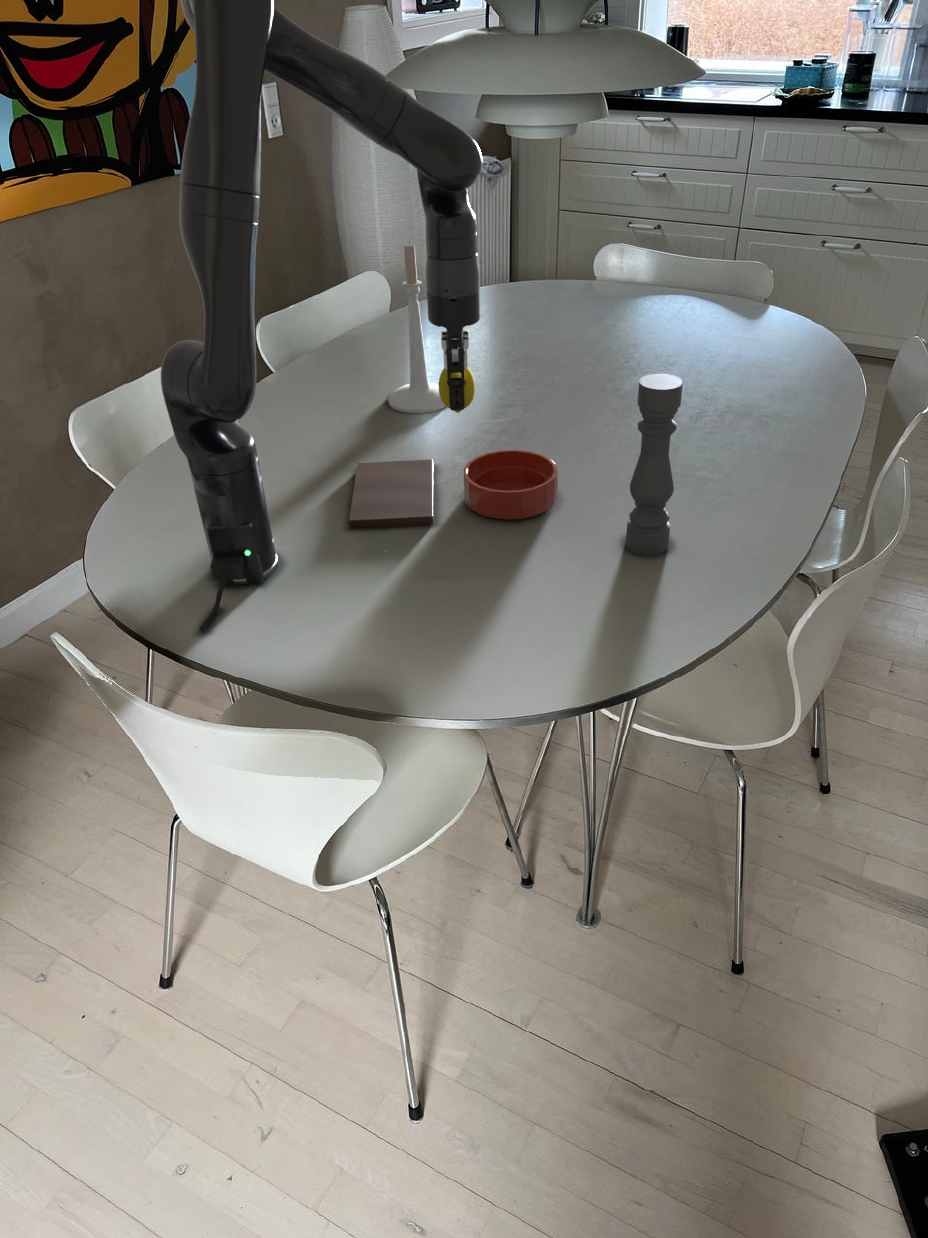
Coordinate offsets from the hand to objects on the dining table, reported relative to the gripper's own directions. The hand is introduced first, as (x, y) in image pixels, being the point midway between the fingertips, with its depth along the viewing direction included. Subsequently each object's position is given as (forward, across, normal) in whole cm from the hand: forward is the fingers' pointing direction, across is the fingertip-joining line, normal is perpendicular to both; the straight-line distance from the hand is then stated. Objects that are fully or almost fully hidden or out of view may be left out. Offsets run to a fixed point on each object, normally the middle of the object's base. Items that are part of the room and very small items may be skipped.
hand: (457, 401), depth 140 cm
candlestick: (+17, -42, -8) cm, 46 cm away
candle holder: (+17, +16, +27) cm, 36 cm away
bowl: (+17, 0, +8) cm, 19 cm away
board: (+17, -2, -11) cm, 20 cm away
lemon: (+2, 0, 0) cm, 2 cm away
